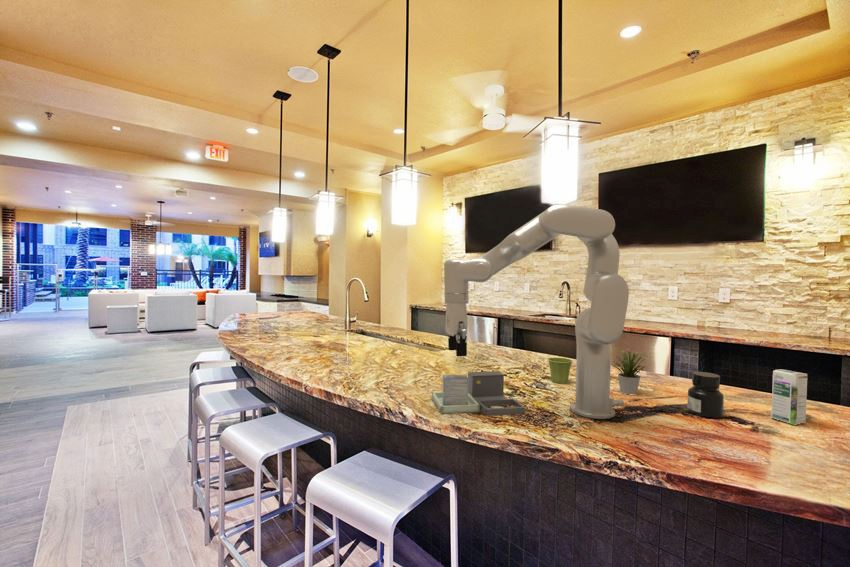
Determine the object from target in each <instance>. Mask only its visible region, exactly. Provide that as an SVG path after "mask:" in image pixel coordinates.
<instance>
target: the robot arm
mask: <svg viewBox="0 0 850 567" xmlns="http://www.w3.org/2000/svg"><path fill="white" fill-rule="evenodd" d="M615 221H616V220H615V219H614V217H613V215H612V214H611V213H610V212H609V211H607V210H604V209H601V208H600V209H599V208H592V207H583V206H577V205H569V204H554V205H551V206H549V207H548V208H546V209H545V210H544V211H543V212H541V213H540V214H538V215H536V216H535V217H534V218H532V219H530V220H529V221H528V222H526V223H525V224H523V225H522V226H520V227H519V228H517V229H515V230H514V231H513V232H512V233H510V234H508V235H507V236H506V237H505V238H504V239H503V240H502V241H500V243H498V244H497V245H496V246H494V247H492V249H490V250H489V251H487V252H486V253H484V254H483V255H481V256H480V257H478V258H472V259H461V258H459V259H454V258H453V259H448V260H445V262H444V263H443V274H444V276H443V277H444V280H443V283H444V287H443V288H444V304H445V307H446V308H445V326H444V327H445V330H444V331H445V332H446V334H447V336H448V338H447V340H448V343H447V344H448V346H447V347H448V351H455V355H456V357H467V355H468V349H467V348H468V345H467V344H468V343H467V342H468V340H467V338H468V337H467V334H468V311H467V310H468V308H467V304H469V282H472V283H473V282H474V283H481V284H482V283H485V282H487V281H489V280H490V279H492V277H493V276H494V275H496V274H498V273H499V272H500V271H502V270H504V269H506V268H507V267H508V266H510V265H512V264H514V263H516V262H519V261H521V260H522V259H525V258H526V257H528V256H529V255H531V254H532V253H534V252H535V251H537V250H538V249H540V248H541V247H543V246H544V245H547V243H549V242H550V241H553V239H555V238H556V237H558V236H560V235H565V236H569V237H570V236H572V237H575V238H577V239H578V240H579V241H581V242H582V243H583V244H584V245H585V247H586V250H587V253H588V254H587V255H588V257H587V259H588V260H587V269H586V272H585V273H586V274H585V281H584V284H583V294H584V296H585V298H586V299H587V300H588V301H589V302H591V303H590V307H589V308H588V307H587V308H585V309H584V310H582V311H581V312H579V314H578V315H577V316H576V319H575V323H574V324H575V325H574V330H575V340H576V359H575V360H576V363H575V366H576V368H575V369H576V370H575V372H576V373H575V402H572V403H570V405H569V409H570V411H571V412H572V413H573V414H575V415H578V416H579V417H580V416H581V417H585V418H589V419H595V420H596V419H597V420H607V419H612V418H614V417H615V416H616V411H615V409H614V408H615V407H616V406H617V407H624V405H625V401H624V399H615V398H614V397H611V364H612V363H611V359H612V358H611V356H612V355H611V354H612V351H611V350H612V349H611V345H612V344H614V343H616V342H617V341H618V340H619V339H620V337H621V336H622V334H623V332H624V328H625V324H626V316H627V310H628V306H629V296H630V290H629V285H628V283H627V281H626V280H625V278H624V277H623V276H621V275H620V274H619V269H620V268H619V265H620V258H621V257H620V256H621V255H620V247H619V244H618V242H617V239H616V238H615V236H614V235H613V233H614V231H615V228H616V222H615Z"/></svg>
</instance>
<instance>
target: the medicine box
mask: <svg viewBox="0 0 850 567" xmlns="http://www.w3.org/2000/svg"><path fill="white" fill-rule="evenodd" d="M468 381H469V379H468V374H443V375H442V392H443V405H468Z"/></svg>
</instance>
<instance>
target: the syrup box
mask: <svg viewBox="0 0 850 567" xmlns="http://www.w3.org/2000/svg"><path fill="white" fill-rule="evenodd" d="M771 391H772V393H771V394H772V395H771V396H772V397H771V412H770V419H771V418H774V419H777V420H776V421H778V420H781V421H784V422H787V423H786V424H788V423H790V424H789V425H791V424H794V425H793V426H796V425H795V424H799V423H803V424H805V423H806V420H807V419H806V417H807V396H808V394H807V393H808V392H807V391H808V373H803V372H797V371H792V370H789V369H788V370H787V369H781V368H780V369H775V370H773V371H772V390H771ZM774 419H773V420H774ZM781 421H780V422H781ZM784 422H783V423H784ZM804 422H805V423H804ZM799 425H800V424H799Z"/></svg>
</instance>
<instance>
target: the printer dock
mask: <svg viewBox="0 0 850 567" xmlns="http://www.w3.org/2000/svg"><path fill="white" fill-rule="evenodd" d="M504 376H505V375H504V374H503V373H502V372H500V371H497V370H494V371H492V370H491V371H468V372H467V377H468V379H469V381H468V393H469V394H470V395H471V396H472V397H473V398H474V399H475V400H476V401H477V402H478V404H479V405H480V412H482V413H483V415H486V416H487V417H489V416H504V415H505V416H506V415H522V414H523V415H524V414H525V413H526V412H525V411H526V409H525V408H526V406H525V405H523V403H521V402H520V401H518V400H517V399H515V398H507V396H505V395H504V390H505V388H504V386H505V385H504V384H505V383H504V381H505V380H504ZM499 406H512V407H499ZM488 407H492V408H488ZM495 407H496V408H495Z"/></svg>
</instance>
